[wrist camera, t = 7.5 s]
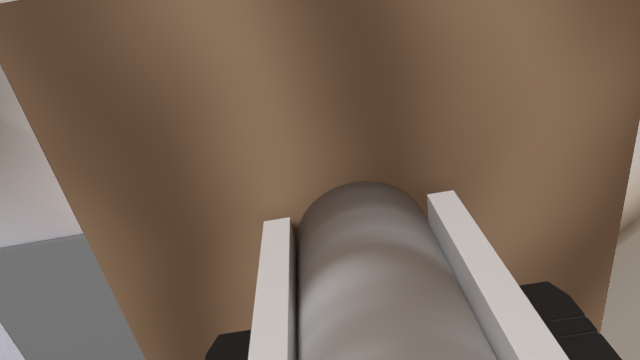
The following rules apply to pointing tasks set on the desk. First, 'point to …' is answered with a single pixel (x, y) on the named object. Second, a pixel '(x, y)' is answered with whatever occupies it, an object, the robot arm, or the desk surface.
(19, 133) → the desk surface
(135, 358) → the mat
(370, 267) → the lid
